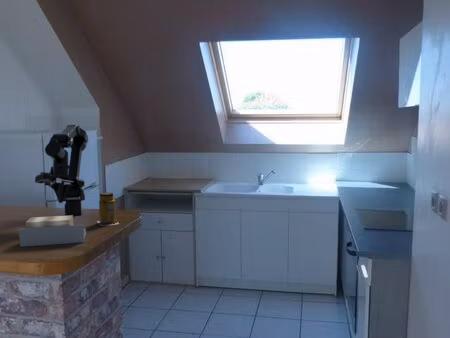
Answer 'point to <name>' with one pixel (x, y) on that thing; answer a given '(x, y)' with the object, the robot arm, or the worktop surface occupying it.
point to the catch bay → (52, 235)
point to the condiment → (107, 209)
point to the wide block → (49, 221)
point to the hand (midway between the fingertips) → (60, 202)
